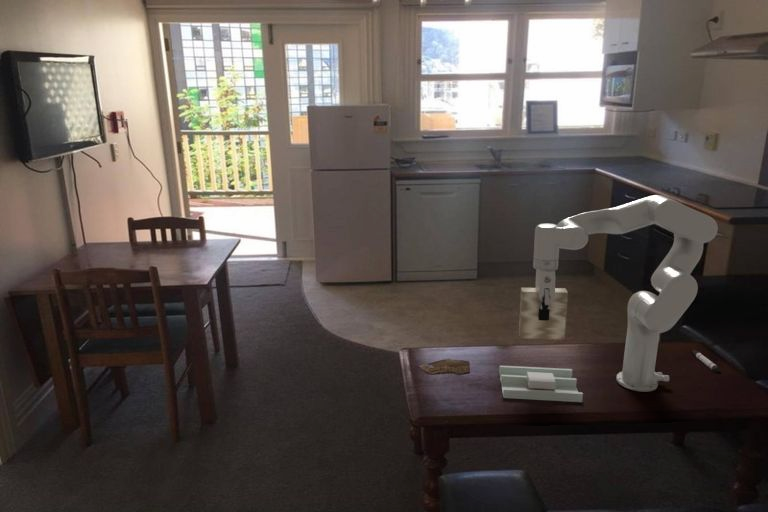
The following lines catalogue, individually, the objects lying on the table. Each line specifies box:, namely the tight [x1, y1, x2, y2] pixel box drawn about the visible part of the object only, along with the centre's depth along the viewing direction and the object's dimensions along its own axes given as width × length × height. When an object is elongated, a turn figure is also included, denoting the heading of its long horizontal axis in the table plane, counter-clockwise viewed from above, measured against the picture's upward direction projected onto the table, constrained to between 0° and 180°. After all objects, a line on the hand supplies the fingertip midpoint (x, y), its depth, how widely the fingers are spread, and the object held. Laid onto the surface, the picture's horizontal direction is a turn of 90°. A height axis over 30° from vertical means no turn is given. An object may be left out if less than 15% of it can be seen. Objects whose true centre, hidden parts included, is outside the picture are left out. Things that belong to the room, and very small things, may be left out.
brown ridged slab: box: [418, 358, 471, 375], centre depth 196 cm, size 26×11×1 cm, turn 91°
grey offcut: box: [527, 372, 556, 389], centre depth 176 cm, size 8×6×2 cm
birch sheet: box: [518, 287, 569, 340], centre depth 178 cm, size 14×4×16 cm, turn 83°
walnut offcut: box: [526, 381, 555, 391], centre depth 177 cm, size 8×6×2 cm
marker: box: [692, 349, 721, 373], centre depth 198 cm, size 15×2×2 cm, turn 1°
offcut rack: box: [498, 365, 584, 403], centre depth 180 cm, size 24×18×4 cm
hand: (542, 316), depth 179 cm, fingers closed on birch sheet, 4 cm apart
